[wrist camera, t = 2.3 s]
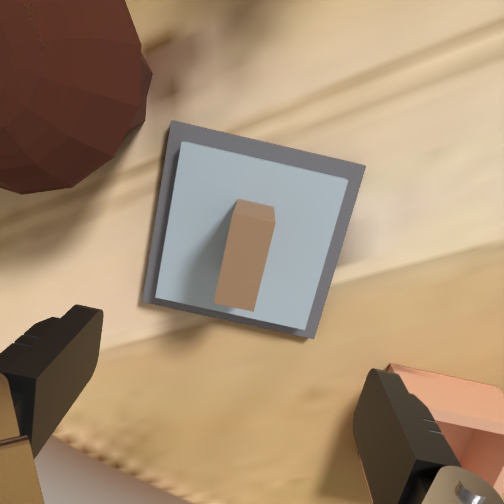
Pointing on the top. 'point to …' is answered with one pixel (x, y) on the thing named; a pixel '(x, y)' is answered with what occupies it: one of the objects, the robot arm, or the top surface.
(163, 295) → the lid
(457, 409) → the dish
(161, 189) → the mat
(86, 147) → the muffin
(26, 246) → the top surface
